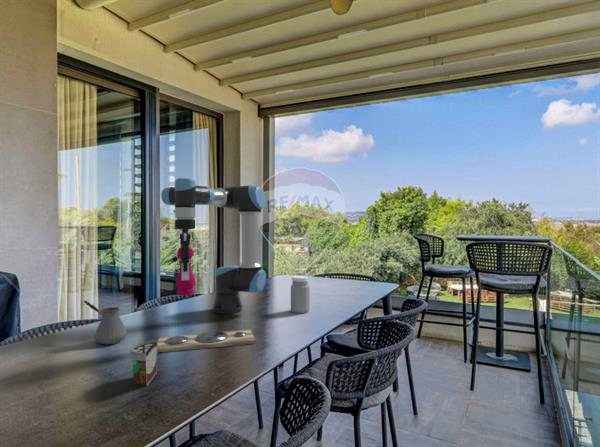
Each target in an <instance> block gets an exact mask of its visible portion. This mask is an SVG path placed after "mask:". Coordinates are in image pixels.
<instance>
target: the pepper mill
mask: <svg viewBox="0 0 600 447" xmlns="http://www.w3.org/2000/svg"><path fill="white" fill-rule="evenodd" d="M176 253H177V257H178V263H179V272H178V275H177V277H176V279H175V286H176V287H177V288H178V289H177V290H176V295H177V296H183V297H184V296H191V295H194V294H195V289H194V286H195V285H196V279H195V276H194V274H193V271H192V263H193V258H192V257H193V256H194V249H193V248H192V247H191V246H189V280H182V271H181V263H180V261H181V260H182V246H181V247H179V248H178V249H177V252H176Z"/></svg>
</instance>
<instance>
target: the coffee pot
mask: <svg viewBox="0 0 600 447" xmlns="http://www.w3.org/2000/svg"><path fill="white" fill-rule="evenodd" d="M83 303H85V304H83ZM81 304H83V306H85V305H86V306H89V308H90V309H92V310H94V311H95V312H97V313H98V314H100V315H101V316H102V318H101V320H100V323H99V325H98V326H97V329H96V332H95V333H94V335H93V338H94V340H95V341H96V342H97V343H99V344H100V343H101V344H112V345H116V344H115V343H117V344H118V342H119V343H121V342H122V341H123V340H124V339H125V338H126V336H127V334H128V332H127V330H126V327H125V325H124V323H123V322H122V320H121V318H120V315H119V310H121V309H120V307H118V306H117V307H115V306H114V307H106V308H103V309H101V310H100V309H98V308H97V307H96V306H95V305H94V304H92V303H90V301H87V300H84V301H82V302H81ZM121 340H122V341H121ZM120 341H121V342H120ZM101 344H100V345H101Z"/></svg>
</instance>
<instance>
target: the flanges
mask: <svg viewBox="0 0 600 447" xmlns="http://www.w3.org/2000/svg"><path fill="white" fill-rule="evenodd" d="M201 333H202V332H201ZM198 334H199V333H198ZM244 336H246V333H245V332H237V333H235V337H244ZM227 337H228V335H227V334H226V333H224V332H222V331H207V332H206V331H205V332H203V333H202V334H199V335H198V336H197V337H196V340H197V341H198V342H202V343H215V342H220V341H223V340H225V339H227Z"/></svg>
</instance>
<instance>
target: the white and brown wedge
mask: <svg viewBox="0 0 600 447" xmlns="http://www.w3.org/2000/svg"><path fill="white" fill-rule="evenodd" d="M157 346H158V340H157V339H152V340H146V341H142V342H139V343H136V344H134V345H133V346H132V347H131V349H130V351H129V359H131V363H132V373H133V383H134V385H136V386H138V387H148V385H150V383H151V381H152V380H153V379H154V378H155V376H156V375H157V371H158V353H157Z"/></svg>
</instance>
